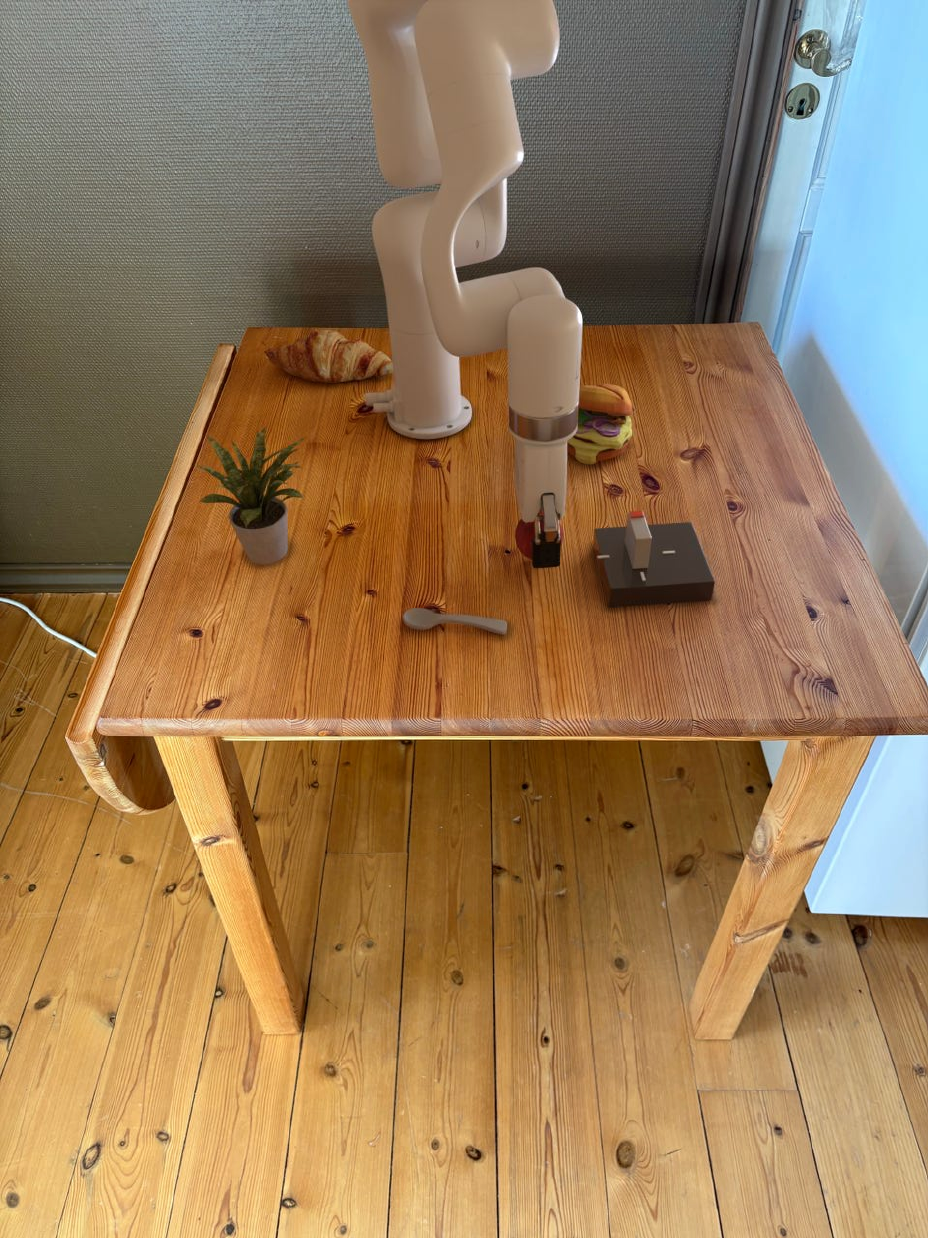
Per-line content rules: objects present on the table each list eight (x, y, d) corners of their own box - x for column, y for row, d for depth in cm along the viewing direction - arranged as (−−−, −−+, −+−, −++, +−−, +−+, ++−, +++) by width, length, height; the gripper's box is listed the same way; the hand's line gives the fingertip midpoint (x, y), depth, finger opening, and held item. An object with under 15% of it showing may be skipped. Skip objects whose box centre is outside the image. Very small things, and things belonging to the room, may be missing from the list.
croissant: (401, 386, 151) (404, 335, 149) (387, 388, 142) (389, 334, 140) (277, 376, 154) (278, 325, 152) (254, 377, 145) (255, 324, 142)
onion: (558, 577, 112) (561, 524, 106) (511, 572, 113) (511, 519, 107) (564, 546, 116) (567, 494, 110) (519, 541, 117) (519, 490, 111)
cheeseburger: (547, 460, 129) (553, 389, 124) (568, 436, 138) (575, 369, 132) (618, 473, 126) (628, 401, 121) (635, 448, 134) (645, 380, 129)
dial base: (603, 608, 107) (605, 588, 105) (588, 547, 115) (589, 527, 113) (711, 600, 108) (715, 580, 106) (688, 540, 116) (691, 520, 113)
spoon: (405, 614, 108) (405, 601, 106) (507, 626, 107) (508, 613, 106) (400, 632, 106) (400, 619, 104) (504, 644, 105) (506, 632, 103)
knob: (647, 568, 108) (652, 536, 104) (632, 569, 108) (636, 537, 104) (639, 540, 111) (643, 509, 108) (624, 541, 111) (627, 510, 108)
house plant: (333, 585, 112) (313, 473, 101) (217, 603, 110) (183, 492, 99) (322, 514, 122) (303, 405, 111) (215, 530, 120) (185, 421, 109)
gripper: (500, 378, 106) (502, 500, 118) (517, 462, 93) (517, 590, 105) (565, 373, 106) (561, 495, 118) (591, 457, 94) (583, 585, 105)
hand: (540, 540), depth 112 cm, fingers open, 9 cm apart
